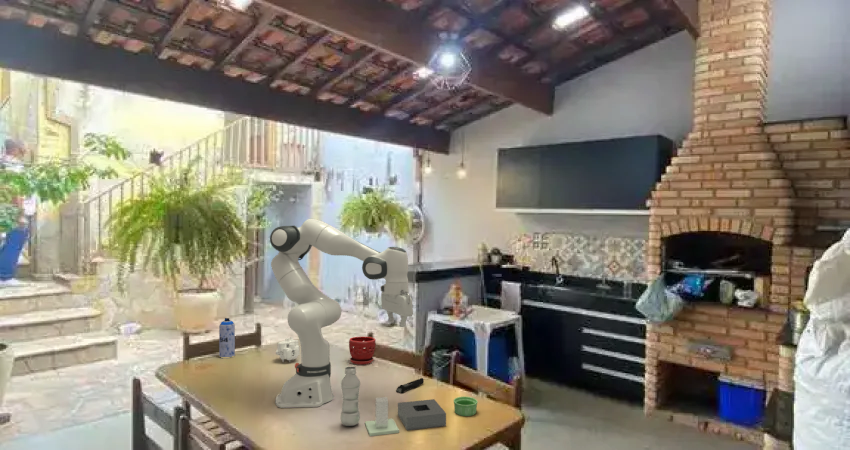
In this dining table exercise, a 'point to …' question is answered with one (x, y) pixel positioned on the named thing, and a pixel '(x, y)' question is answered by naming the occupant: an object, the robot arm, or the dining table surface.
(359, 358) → the plant pot
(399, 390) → the electric trimmer
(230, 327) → the aerosol can
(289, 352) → the mechanical part
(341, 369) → the dining table surface
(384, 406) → the steel peg
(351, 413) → the plastic bottle
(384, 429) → the sage pad
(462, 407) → the ramekin
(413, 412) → the socket block
